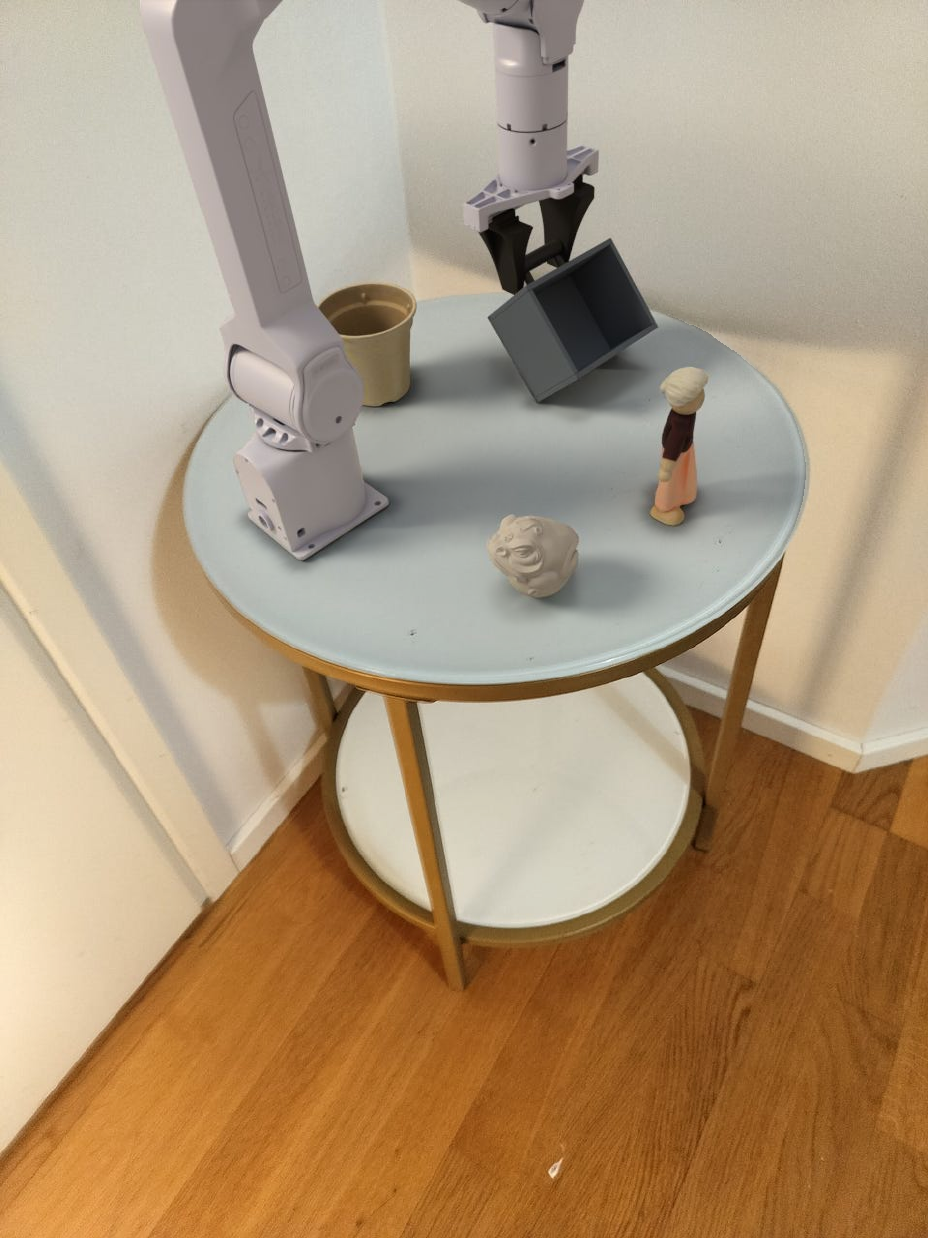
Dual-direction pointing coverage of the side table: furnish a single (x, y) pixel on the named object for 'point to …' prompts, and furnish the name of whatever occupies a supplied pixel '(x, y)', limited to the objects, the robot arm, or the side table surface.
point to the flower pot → (375, 335)
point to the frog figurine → (534, 553)
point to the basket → (571, 317)
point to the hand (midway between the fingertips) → (534, 278)
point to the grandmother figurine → (679, 444)
